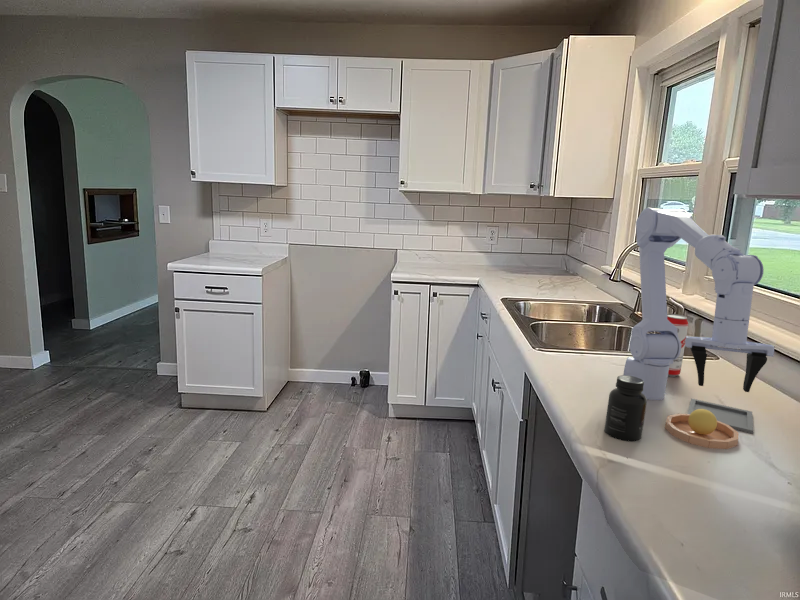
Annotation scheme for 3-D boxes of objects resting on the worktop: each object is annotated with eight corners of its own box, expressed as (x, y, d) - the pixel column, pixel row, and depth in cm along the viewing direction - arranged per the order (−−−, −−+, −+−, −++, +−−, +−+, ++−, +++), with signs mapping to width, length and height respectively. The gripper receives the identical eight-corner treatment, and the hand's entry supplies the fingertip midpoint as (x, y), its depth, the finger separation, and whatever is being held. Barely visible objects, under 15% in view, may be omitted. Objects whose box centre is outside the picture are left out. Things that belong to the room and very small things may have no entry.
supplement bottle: (648, 444, 105) (657, 385, 102) (615, 445, 104) (624, 385, 101) (628, 429, 111) (636, 372, 109) (597, 429, 110) (604, 373, 108)
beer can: (684, 375, 147) (694, 317, 144) (671, 379, 144) (681, 319, 140) (662, 368, 152) (671, 312, 149) (649, 371, 149) (658, 314, 145)
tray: (685, 421, 117) (687, 415, 116) (690, 404, 127) (691, 398, 126) (752, 437, 111) (753, 430, 110) (751, 417, 121) (752, 411, 120)
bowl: (661, 439, 107) (663, 429, 107) (668, 418, 118) (670, 408, 117) (736, 458, 101) (738, 447, 100) (736, 434, 111) (738, 424, 111)
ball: (685, 434, 108) (689, 410, 107) (687, 425, 112) (691, 402, 111) (714, 441, 106) (718, 417, 105) (715, 432, 110) (719, 409, 109)
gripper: (690, 317, 103) (682, 387, 105) (782, 325, 98) (772, 399, 100) (687, 312, 110) (680, 378, 112) (772, 320, 104) (763, 389, 106)
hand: (723, 387), depth 106 cm, fingers open, 7 cm apart
